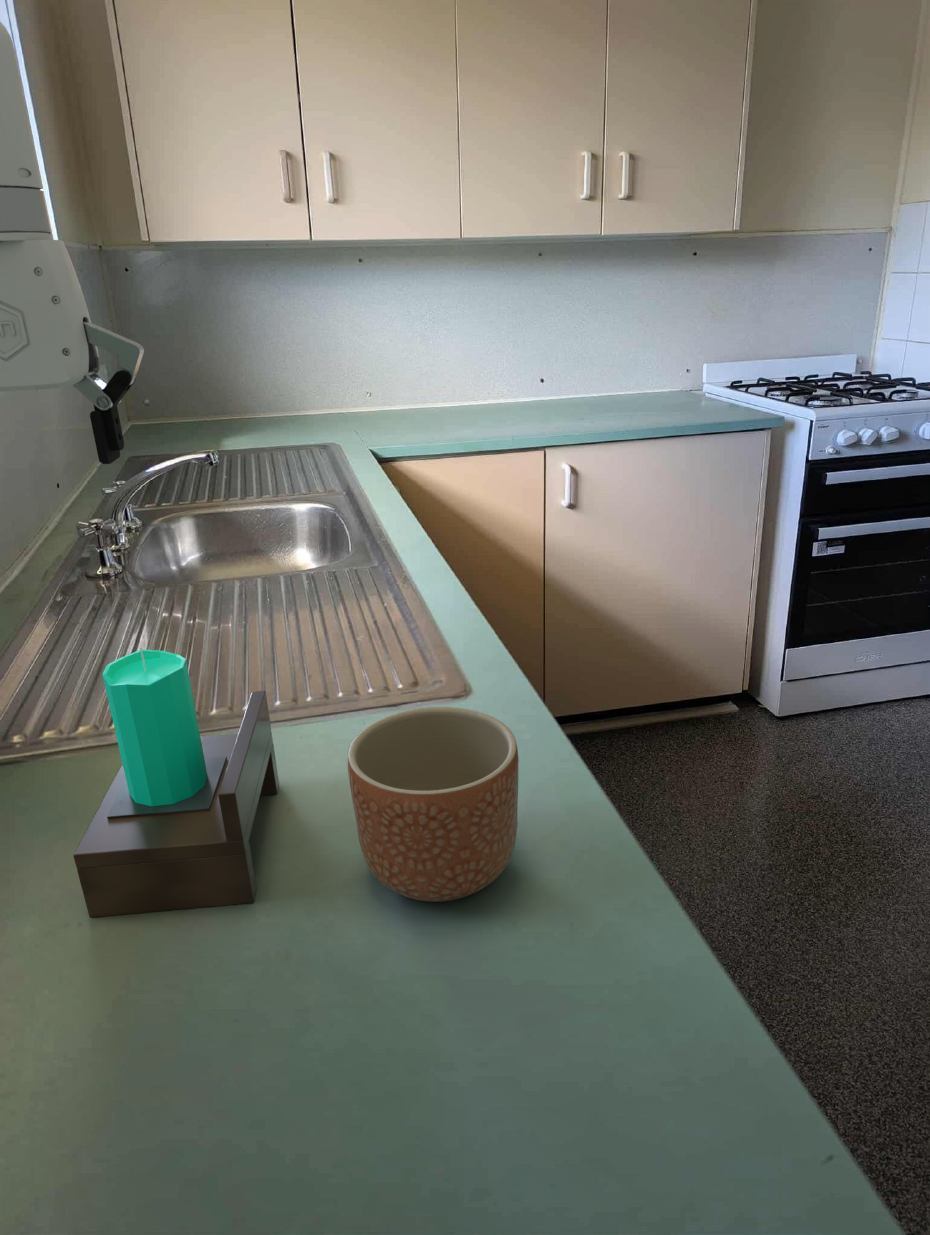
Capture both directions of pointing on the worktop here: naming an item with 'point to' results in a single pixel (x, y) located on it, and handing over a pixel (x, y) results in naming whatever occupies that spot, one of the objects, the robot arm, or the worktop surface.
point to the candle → (156, 726)
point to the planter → (435, 800)
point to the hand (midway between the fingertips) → (47, 464)
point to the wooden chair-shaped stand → (183, 832)
